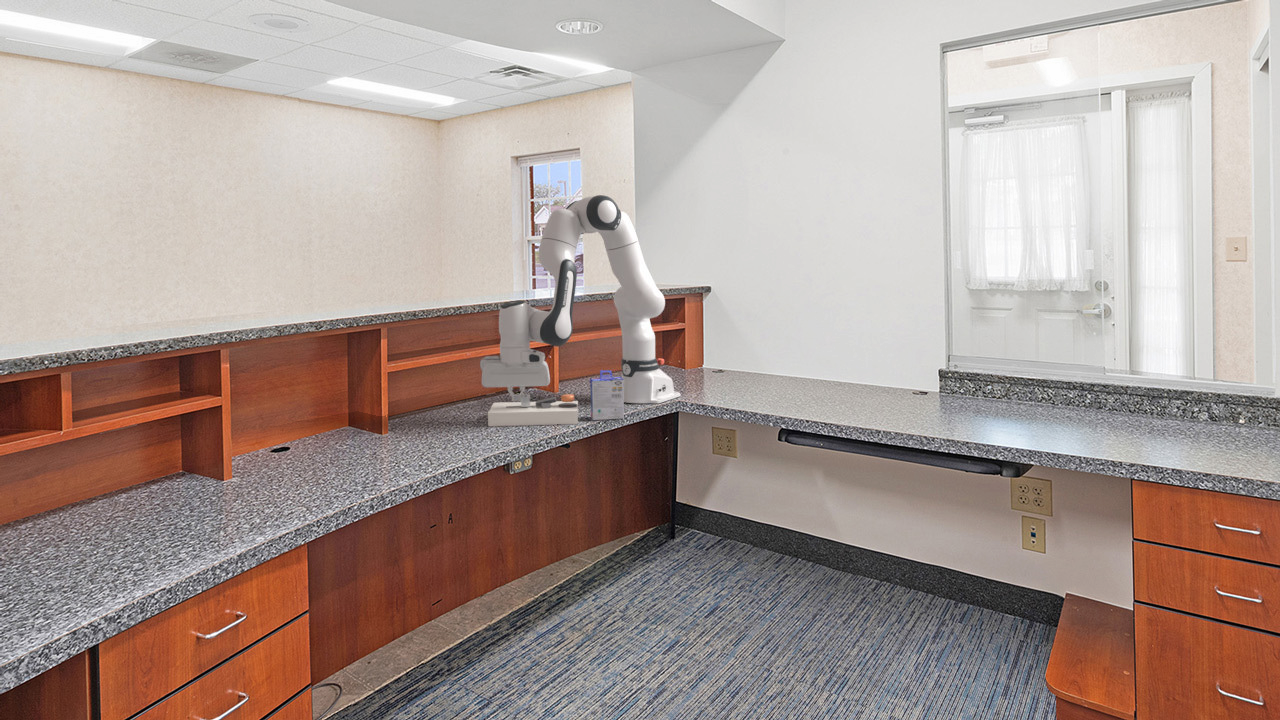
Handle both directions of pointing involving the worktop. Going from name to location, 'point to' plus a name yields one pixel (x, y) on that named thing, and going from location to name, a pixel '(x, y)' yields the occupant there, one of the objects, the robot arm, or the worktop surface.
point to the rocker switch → (546, 401)
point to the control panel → (533, 414)
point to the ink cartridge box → (607, 397)
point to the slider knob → (525, 400)
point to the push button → (567, 398)
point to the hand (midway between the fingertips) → (516, 401)
